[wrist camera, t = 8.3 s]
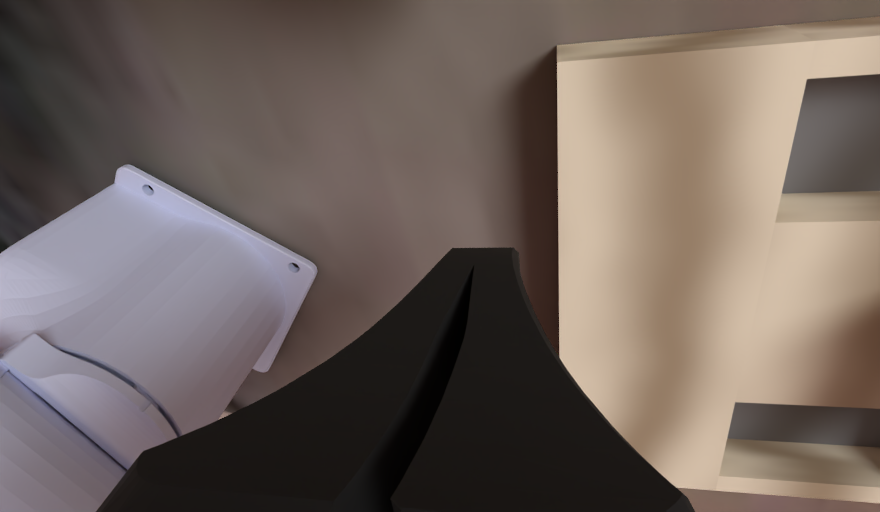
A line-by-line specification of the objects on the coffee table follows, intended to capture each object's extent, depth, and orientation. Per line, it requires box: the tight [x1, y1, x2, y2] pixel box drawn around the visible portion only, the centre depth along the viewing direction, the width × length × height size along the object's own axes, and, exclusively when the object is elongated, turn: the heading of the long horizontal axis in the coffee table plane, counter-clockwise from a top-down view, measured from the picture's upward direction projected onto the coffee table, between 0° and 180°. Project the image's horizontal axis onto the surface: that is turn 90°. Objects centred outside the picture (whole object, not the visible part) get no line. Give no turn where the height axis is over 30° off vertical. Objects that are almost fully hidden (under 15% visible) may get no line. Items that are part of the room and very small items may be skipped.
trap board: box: [557, 17, 880, 503], centre depth 19 cm, size 18×19×4 cm
